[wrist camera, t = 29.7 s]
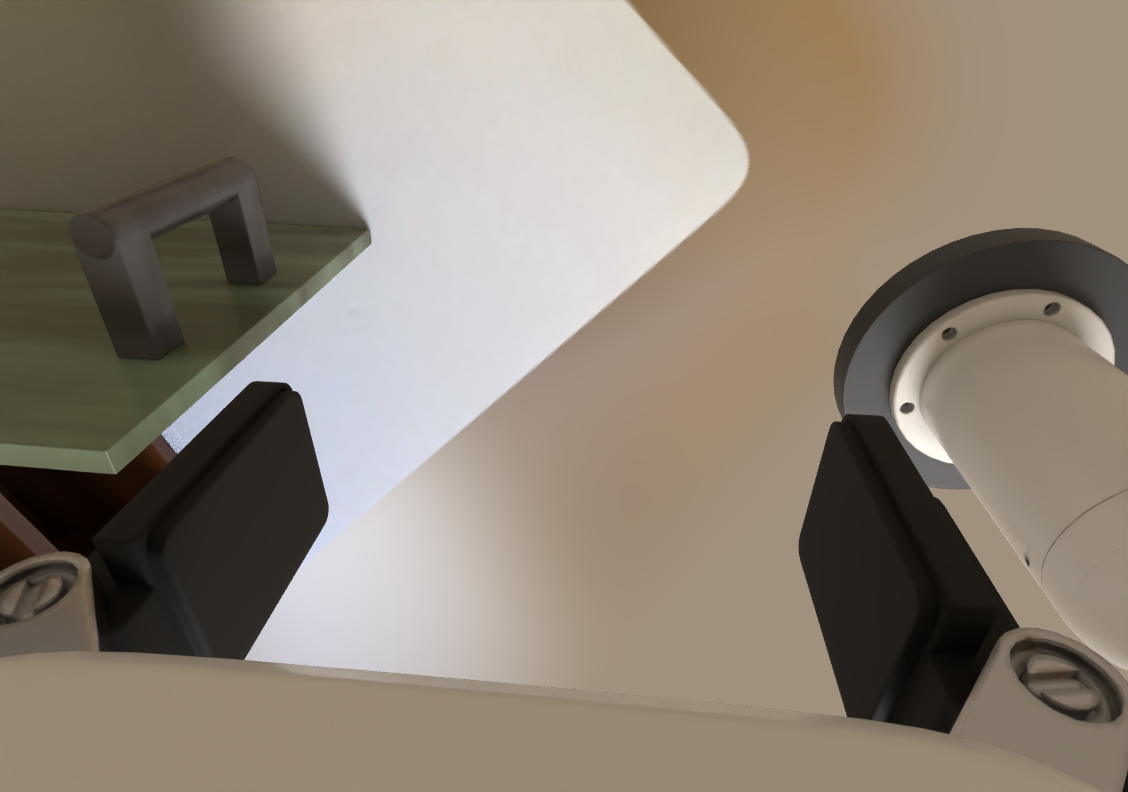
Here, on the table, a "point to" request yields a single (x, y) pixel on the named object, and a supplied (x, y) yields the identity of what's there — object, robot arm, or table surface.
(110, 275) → the cupboard door
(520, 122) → the table surface
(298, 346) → the table surface
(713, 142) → the table surface
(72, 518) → the cupboard
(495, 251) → the table surface
